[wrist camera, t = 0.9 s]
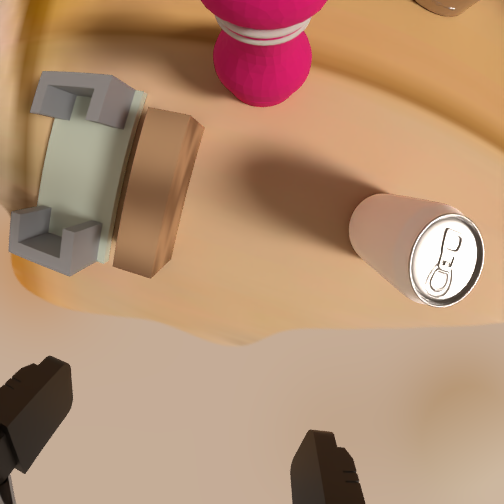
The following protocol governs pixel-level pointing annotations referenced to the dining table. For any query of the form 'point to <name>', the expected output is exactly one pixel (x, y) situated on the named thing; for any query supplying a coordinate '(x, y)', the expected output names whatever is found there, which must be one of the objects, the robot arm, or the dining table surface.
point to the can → (418, 247)
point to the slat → (156, 191)
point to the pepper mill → (262, 47)
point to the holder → (78, 170)
